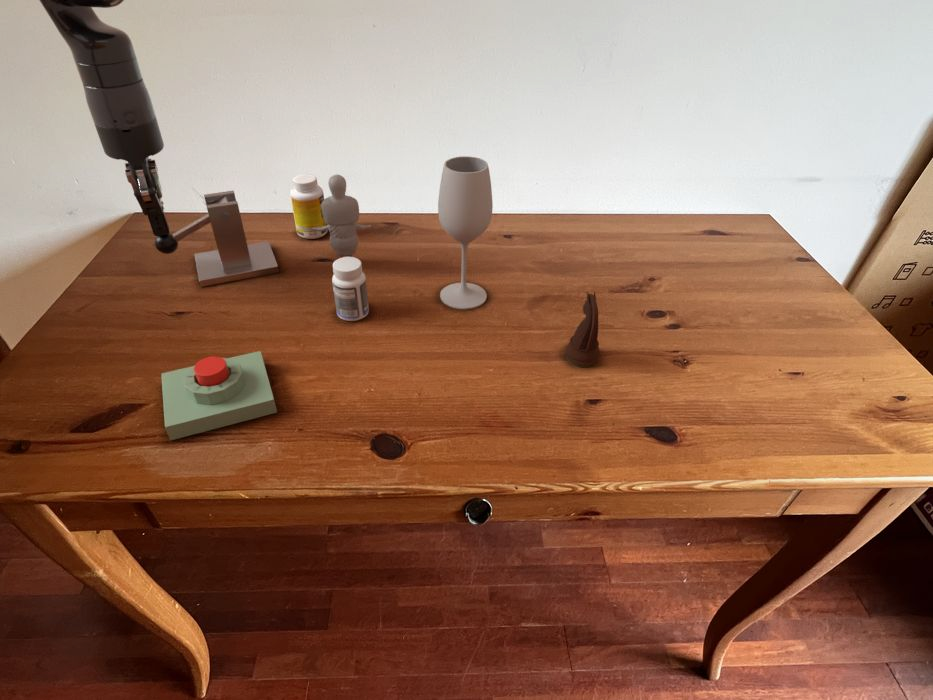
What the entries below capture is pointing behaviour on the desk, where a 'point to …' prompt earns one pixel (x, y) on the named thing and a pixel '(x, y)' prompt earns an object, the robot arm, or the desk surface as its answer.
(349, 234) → the figurine
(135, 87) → the robot arm
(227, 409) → the button block
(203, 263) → the lever stand
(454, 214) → the wineglass
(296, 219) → the supplement bottle
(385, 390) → the desk surface
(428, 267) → the desk surface
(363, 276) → the pill bottle
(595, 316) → the chess piece
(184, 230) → the lever handle
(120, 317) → the desk surface
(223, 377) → the red button
